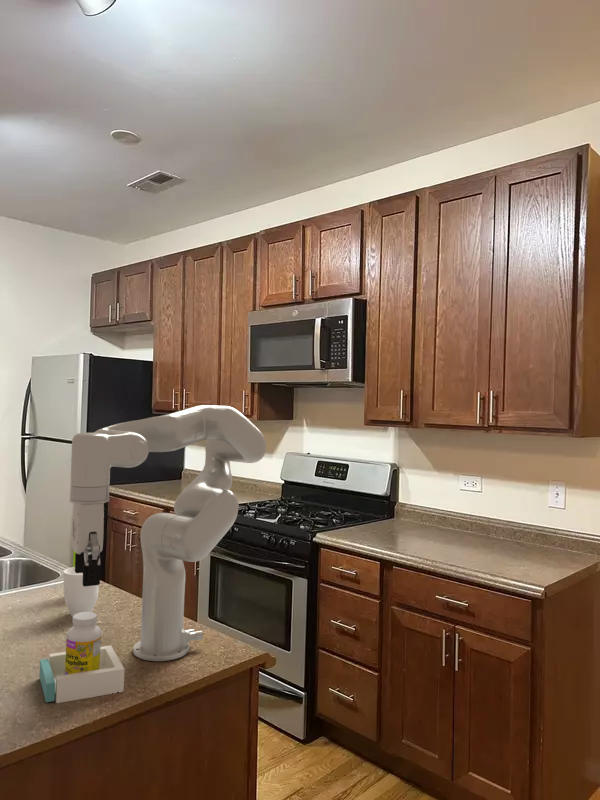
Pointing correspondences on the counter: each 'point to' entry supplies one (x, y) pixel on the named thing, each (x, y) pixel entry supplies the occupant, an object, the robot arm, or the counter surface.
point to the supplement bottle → (83, 644)
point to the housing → (87, 677)
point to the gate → (47, 680)
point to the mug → (78, 593)
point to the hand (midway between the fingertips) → (86, 578)
